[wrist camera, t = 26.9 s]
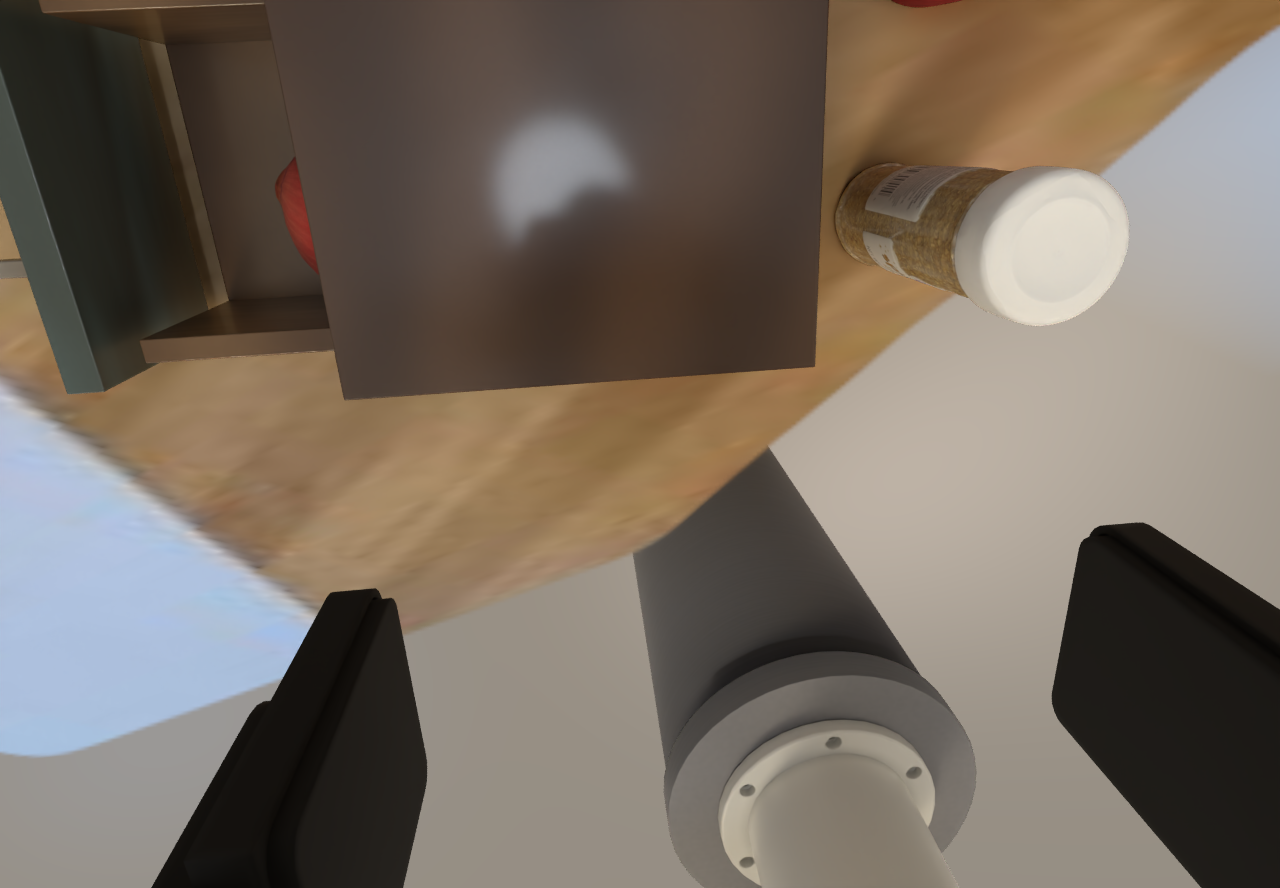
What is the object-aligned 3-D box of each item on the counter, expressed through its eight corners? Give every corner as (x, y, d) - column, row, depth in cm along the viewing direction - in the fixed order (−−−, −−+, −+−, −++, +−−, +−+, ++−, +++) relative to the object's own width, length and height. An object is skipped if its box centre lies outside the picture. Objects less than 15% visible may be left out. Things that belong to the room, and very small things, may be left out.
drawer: (72, 343, 32) (-85, 405, 25) (-39, 8, 28) (-275, -46, 20) (525, 314, 34) (512, 364, 26) (491, -12, 29) (462, -71, 21)
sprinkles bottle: (836, 273, 35) (983, 341, 23) (829, 170, 33) (984, 183, 21) (932, 255, 35) (1131, 314, 23) (930, 152, 34) (1144, 154, 21)
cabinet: (406, 331, 34) (343, 401, 25) (349, -19, 29) (242, -101, 20) (749, 308, 35) (815, 367, 26) (750, -34, 30) (833, -119, 21)
